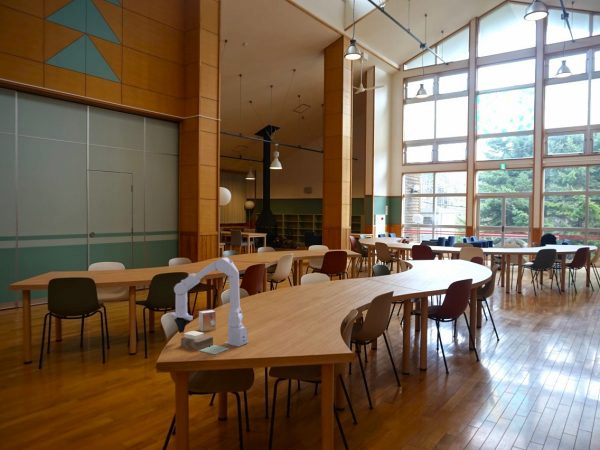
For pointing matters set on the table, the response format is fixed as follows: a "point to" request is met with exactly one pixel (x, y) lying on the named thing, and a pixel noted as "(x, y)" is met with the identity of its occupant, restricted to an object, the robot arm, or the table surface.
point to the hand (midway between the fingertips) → (181, 332)
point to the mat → (214, 349)
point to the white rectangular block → (194, 335)
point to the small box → (207, 320)
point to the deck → (197, 343)
